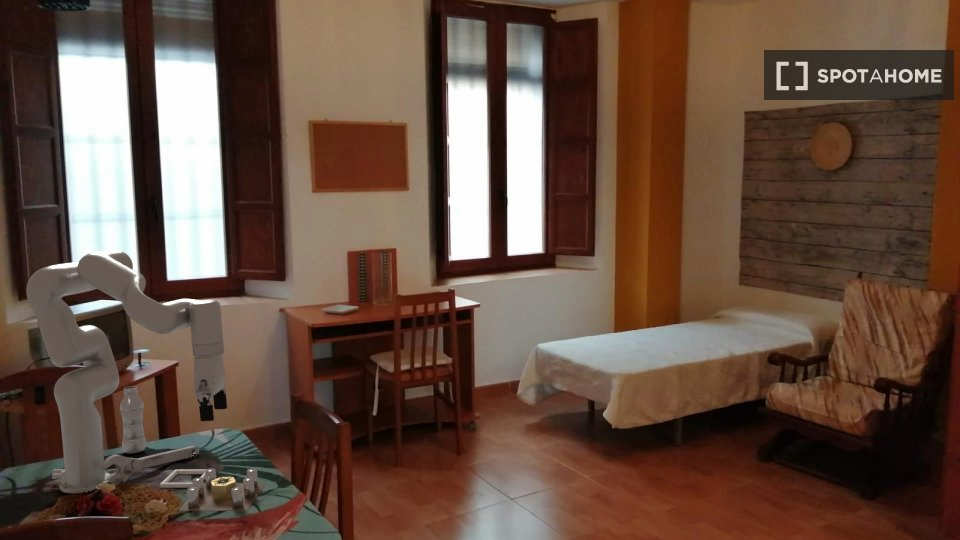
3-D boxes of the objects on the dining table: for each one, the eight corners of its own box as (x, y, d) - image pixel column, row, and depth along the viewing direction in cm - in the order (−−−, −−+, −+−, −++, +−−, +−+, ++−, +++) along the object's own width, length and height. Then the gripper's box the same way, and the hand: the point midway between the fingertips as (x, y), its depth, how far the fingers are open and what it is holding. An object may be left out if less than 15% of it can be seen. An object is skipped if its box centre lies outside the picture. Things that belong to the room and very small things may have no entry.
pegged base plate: (182, 508, 187) (181, 491, 186) (204, 484, 201) (203, 468, 201) (245, 508, 186) (244, 491, 186) (262, 484, 201) (262, 468, 200)
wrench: (198, 464, 226) (104, 488, 201) (194, 463, 227) (100, 486, 202) (200, 437, 226) (105, 458, 200) (196, 436, 227) (101, 457, 201)
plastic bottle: (130, 448, 232) (126, 384, 229) (151, 448, 231) (147, 385, 228) (117, 455, 225) (113, 390, 223) (138, 456, 225) (134, 391, 222)
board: (178, 514, 186) (177, 510, 186) (203, 486, 202) (203, 483, 202) (246, 514, 186) (246, 510, 186) (266, 486, 202) (266, 483, 202)
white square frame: (160, 491, 200) (160, 483, 199) (175, 476, 209) (175, 469, 209) (197, 490, 200) (196, 483, 199) (210, 476, 209) (210, 469, 209)
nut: (207, 500, 191) (206, 485, 191) (215, 491, 197) (214, 476, 196) (232, 500, 191) (232, 485, 191) (240, 491, 197) (239, 476, 196)
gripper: (205, 342, 199) (211, 405, 201) (179, 357, 182) (186, 426, 184) (234, 341, 199) (239, 404, 201) (210, 356, 182) (217, 424, 184)
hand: (214, 414), depth 193 cm, fingers open, 9 cm apart
